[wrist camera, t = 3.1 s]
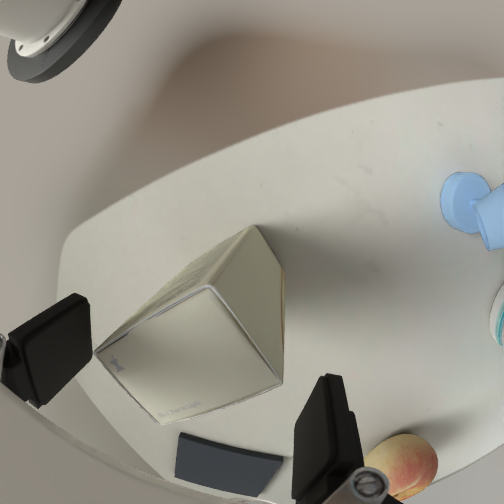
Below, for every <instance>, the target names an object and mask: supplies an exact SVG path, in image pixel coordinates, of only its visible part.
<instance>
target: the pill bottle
mask: <svg viewBox="0 0 504 504" xmlns="http://www.w3.org/2000/svg"><path fill="white" fill-rule="evenodd" d="M489 327H490V332H491V335H492V336H493V338H494V339H495V340H496V341H497V342H498V343H499V344H500V345H501V346H502V347H503V348H504V284H503V286H502V287H501V289H500V290H499V292H498V294H497V296H496V298H495V300H494V303H493V305H492V309H491V313H490V319H489Z"/></svg>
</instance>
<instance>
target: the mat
mask: <svg viewBox="0 0 504 504" xmlns="http://www.w3.org/2000/svg"><path fill="white" fill-rule="evenodd" d="M282 463H283V457H281V456H275V455H269V454H263V453H258V452H253V451H248V450H243V449H239V448H235V447H230V446H226V445H222V444H219V443H215V442H211V441H208V440H204V439H201V438H197V437H194V436H191V435H188V434H185V433H182V432H181V433H180V435H179V439H178V448H177V457H176V467H175V477H176V478H179V479H182V480H185V481H188V482H192V483H195V484H199V485H202V486H206V487H210V488H214V489H218V490H222V491H226V492H231V493H236V494H241V495H246V496H252V497H258V495H259V494H260V493H261V491H262V490H263V489H264V487H265V486H266V485H267V484H268V482H269V481H270V479H271V478H272V477H273V475H274V474H275V473H276V471H277V470H278V468H279V467H280V466H281V464H282Z"/></svg>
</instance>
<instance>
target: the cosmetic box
mask: <svg viewBox="0 0 504 504" xmlns="http://www.w3.org/2000/svg"><path fill="white" fill-rule="evenodd" d="M284 331H285V272H284V270H283V269H282V267H281V265H280V264H279V262H278V260H277V258H276V257H275V255H274V254H273V252H272V250H271V249H270V247H269V246H268V244H267V243H266V241H265V239H264V238H263V236H262V235H261V233H260V232H259V230H258V229H257V227H256V226H255V225H251V226H249V227H247V228H246V229H244V230H242V231H241V232H239V233H237V234H236V235H234V236H232V237H231V238H229V239H227V240H226V241H224V242H223V243H221V244H219V245H218V246H216V247H215V248H213V249H212V250H210V251H208V252H207V253H205V254H204V255H202V256H201V257H199V258H198V259H196V260H195V261H193V262H192V263H191V264H189V265H188V266H186V267H185V268H184V269H183V270H182V271H181V272H180V273H179V274H177V275H176V276H175V277H174V278H173V279H172V280H171V281H169V282H168V283H167V284H166V285H165V286H164V287H163V288H162V289H161V290H159V291H158V292H157V293H156V294H155V295H154V296H153V297H152V298H151V299H150V300H148V301H147V302H146V303H145V304H144V305H143V306H142V307H141V308H140V309H139V310H137V311H136V312H135V313H134V314H133V315H132V316H131V317H130V318H129V319H128V320H126V321H125V322H124V323H123V324H122V325H121V326H120V327H119V328H118V329H117V330H116V331H115V332H114V333H113V334H111V335H110V336H109V337H108V338H107V339H106V340H105V341H104V342H103V343H102V344H101V345H100V346H99V347H98V348H97V349H96V350H95V351H94V355H95V356H96V357H97V359H98V360H99V361H100V362H101V363H102V365H103V366H104V367H105V368H106V370H107V371H108V372H109V373H110V374H111V376H112V377H113V378H114V379H115V380H116V381H117V383H118V384H119V385H120V386H121V387H122V388H123V390H124V391H125V392H126V393H127V394H128V395H129V396H130V397H131V398H132V399H133V400H134V402H135V403H136V404H137V405H138V406H139V407H140V408H142V409H143V411H144V412H145V413H146V414H147V415H148V416H149V417H151V418H152V419H153V420H154V421H155V422H156V423H157V424H158V425H167V424H172V423H176V422H181V421H184V420H188V419H192V418H195V417H198V416H202V415H205V414H209V413H212V412H214V411H217V410H220V409H224V408H226V407H229V406H232V405H235V404H237V403H240V402H243V401H245V400H248V399H250V398H253V397H255V396H258V395H260V394H263V393H265V392H268V391H270V390H272V389H274V388H277V387H279V386H281V385H282V384H283V372H284Z"/></svg>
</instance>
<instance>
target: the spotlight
mask: <svg viewBox="0 0 504 504" xmlns="http://www.w3.org/2000/svg"><path fill="white" fill-rule="evenodd" d="M440 202H441V210H442V213H443V216H444V218H445V220H446V221H447V223H448V224H449V225H450V226H452V227H453V228H455V229H458V230H461V231H463V232H466V233H470V234H473V233H477V232H479V231H480V233H481V236H482V239H483V241H484V244H485V246H486V248H487V250H488V251H491V250H496V249H501V248H504V183H503V184H501V185H500V186H499V187H497V188H496V189H495V190H493V191H492V192H491V190H490V188H489V186H488V184H487V182H486V181H485V180H484V178H482V177H481V176H480V175H478V174H476V173H464V172H458V173H455V174H453V175H451V176H450V177H449V178H448V179H447V180H446V182H445V183H444V186H443V188H442V192H441V200H440Z"/></svg>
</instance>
